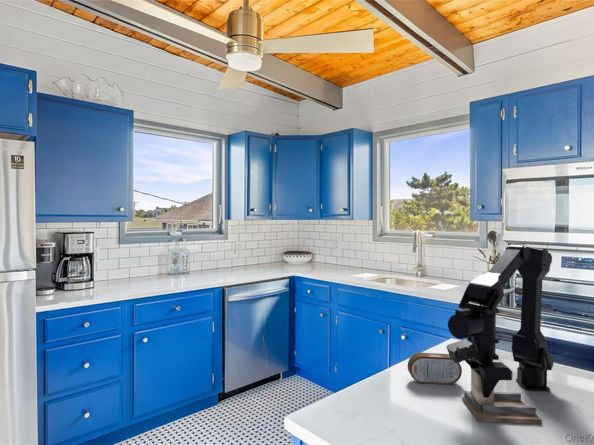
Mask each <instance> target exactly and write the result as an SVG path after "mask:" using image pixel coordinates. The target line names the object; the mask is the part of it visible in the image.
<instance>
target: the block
mask: <svg viewBox="0 0 594 445" xmlns="http://www.w3.org/2000/svg"><path fill="white" fill-rule="evenodd" d="M475 370H479V369H471V368H470V373H471V374H470V379H471V380H470V386H471V388H470V391H471V395H472V396H473V397H474V399H475V400H476V401H477V402H478V403H479V404H480V406H481V404H494V392H495V388H494V389H493V391H492V393H491V394H490V396H489V397H488V398H484V396H483V391H482V384H481V377H480V376H479V374H478V373H477V372H476V371H475Z"/></svg>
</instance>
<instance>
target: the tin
mask: <svg viewBox="0 0 594 445" xmlns="http://www.w3.org/2000/svg"><path fill="white" fill-rule="evenodd" d="M462 370H463V368H462V365H461V363H460V362H459V363H455V362H454V361H453V360H452V359H451V358H450V355H449V353H435V352H433V353H432V352H418V353H415V354H413V355H411V356H410V358H409V359H408V362H407V371H408V373H409V374H410V377H411V378H412V379H413V380H414V381H416V382H418V383H419V384H420V383H421V384H430V385H431V384H434V385H453V384H455V383H458V381H459V380H460V379H461V377H462V374H463V372H462Z"/></svg>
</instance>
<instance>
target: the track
mask: <svg viewBox="0 0 594 445" xmlns="http://www.w3.org/2000/svg"><path fill="white" fill-rule="evenodd" d="M469 391H470V392H469ZM461 400H462V402H463V403H464V405H465V406H466V407H467V409H468V410H469V411H470V412H471V413H472V415H473V416H474V417H475V419H476V420H477V421H478V422H485V423H486V422H488V423H510V424H512V423H514V424H537V425H538V424H539V425H542V423H543V420H542V418H541V417H540V416H538V414H537V407H536V406H535V405H527V404H526V403H524V401H523V400H522V394H521V393H520V392H512V391H511V392H510V391H509V392H508V391H507V392H506V391H505V392H503V391H494V404H481V406H480V404H479V403H478V402H477V401H476V400H475V399H474V397H473V396H472V395H471V390H464V391H463V396H462V397H461Z"/></svg>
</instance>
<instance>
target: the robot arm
mask: <svg viewBox="0 0 594 445" xmlns="http://www.w3.org/2000/svg"><path fill="white" fill-rule="evenodd" d="M552 262H553V255H552V253H551V252H549V251H548V249H547V248H541V247H540V248H538V247H529V246H526V245H524V244H522V245H520V244H510V245H508V246H506V248H505V251H504V253H503V254H502V255H500V257H499V258H498V259H497V260H496V262H495V263H494V264H493V265H492V267H490V269H489V270H488V271H487V272H486V273H485V274H482V275H479V276H476V277H475V278H474V279H473V280H471V281H470V282H469V283H468V284H467V286H466V288H465V290H464V292H463V295H462V297H461V300H460V302H459V304H458V308H457V309H455V311H454V312H455V313H454V314H453V315H451V316H450V317H449V319H448V321H447V328H448V331H449V333H450V334H451V336H453V337H454V338H455V339H457V340H458V341H455V342H453V343H452V342H451V343H449V344H446V346H445V347H446V349H447V354H449V355H450V358H451V359H452V360H453V361H454V362H455V363H459V364H460V363H461V362H465V363H466V364H467V365H468V366H470V370H471V369H479V370H475V371H476V372H477V373H478V374H479V376H480V377H481V384H482V391H483V396H484V398H488V397H489V396H490V394H491V393H492V391H493V389H494V390H495V388H496V386H497V385H498V383H499V382H500V381H512V380H513V370H512V369H511V368H509V367H508V366H507V365H506V364H505V363H504V362H502V361H499V360H500V355H498V354H497V352H496V344H500V339H499V338H498V337H497V335H496V333H497V332H496V330H497V329H496V328H497V324H496V323H497V322H496V321H497V319H496V318H497V317H496V316H497V314H500V313H501V311H500V310H501V309H499V308H498V306H499V305H500V303H501V301H502V299H503V298H504V296H505V293H504V287H505V285H506V284H507V283H508V282H509V280H510V279H511V278H512V277H513V275H514V274H515V273H516V272H517V271H518V273H519V275H520V277H521V278H522V284H521V285H522V286H521V306H520V308H521V309H520V310H521V311H520V328H519V330H517V332H516V333H513V335H512V337H511V340H512V344H511V353H512V358H513V362H518V367H517V371H516V374H517V375H516V378H515V381H516V382H517V383H518V384H519V385H520V386H521V387H523V388H524V389H525V390H527V391H551V388H550V387H549V386H548V371H553V366H554V360H555V359H554V358H553V356H552V355H551V353H550V351H549V350H548V344H547V343H548V342H547V340H546V338H545V336H544V334H543V333H542V331H541V324H542V323H541V322H542V300H543V298H542V297H543V280H544V278H545V277H546V276H547V275H548V274H549V273H550V271H551V265H552Z"/></svg>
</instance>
